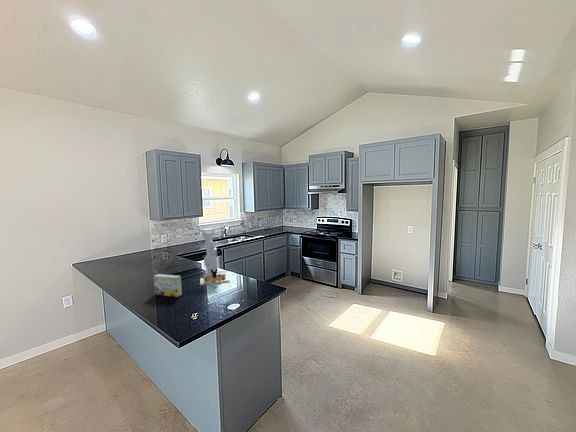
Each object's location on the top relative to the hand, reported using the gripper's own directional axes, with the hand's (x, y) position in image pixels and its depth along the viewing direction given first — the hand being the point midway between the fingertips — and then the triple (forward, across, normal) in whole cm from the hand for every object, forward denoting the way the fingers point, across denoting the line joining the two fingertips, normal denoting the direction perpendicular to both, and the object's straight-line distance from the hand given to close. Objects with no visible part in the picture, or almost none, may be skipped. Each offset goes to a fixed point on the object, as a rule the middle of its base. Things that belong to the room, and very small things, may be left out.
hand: (214, 277), depth 229 cm
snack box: (+3, +20, -35) cm, 40 cm away
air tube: (+2, 0, 0) cm, 2 cm away
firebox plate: (+3, 0, 0) cm, 3 cm away
